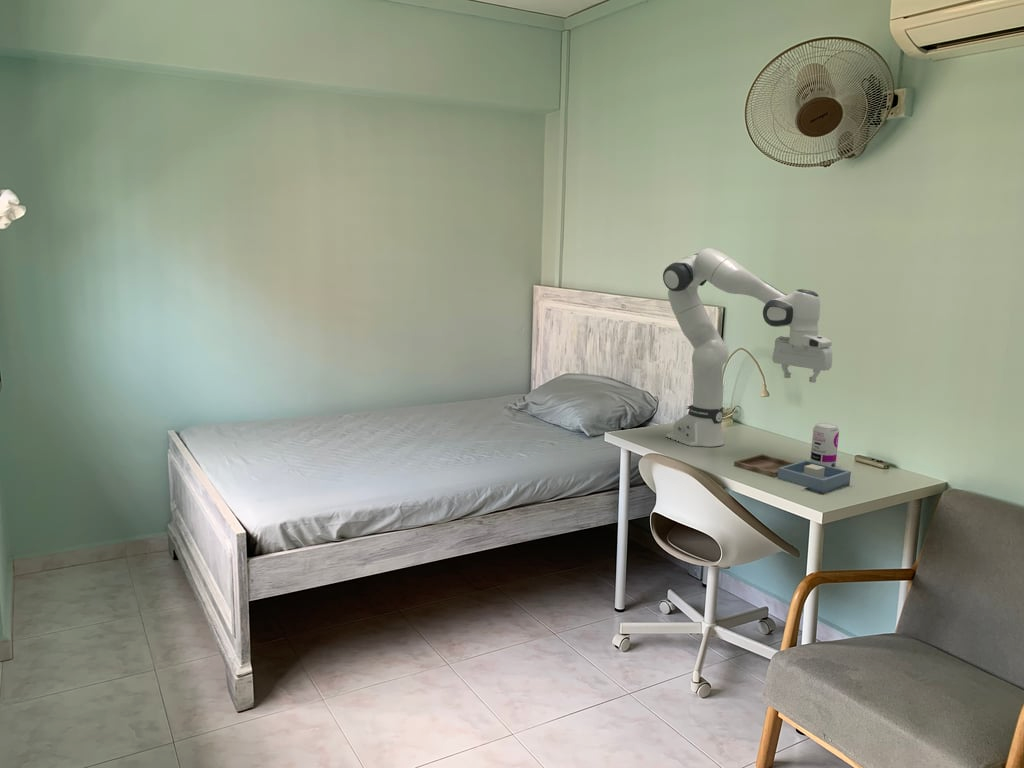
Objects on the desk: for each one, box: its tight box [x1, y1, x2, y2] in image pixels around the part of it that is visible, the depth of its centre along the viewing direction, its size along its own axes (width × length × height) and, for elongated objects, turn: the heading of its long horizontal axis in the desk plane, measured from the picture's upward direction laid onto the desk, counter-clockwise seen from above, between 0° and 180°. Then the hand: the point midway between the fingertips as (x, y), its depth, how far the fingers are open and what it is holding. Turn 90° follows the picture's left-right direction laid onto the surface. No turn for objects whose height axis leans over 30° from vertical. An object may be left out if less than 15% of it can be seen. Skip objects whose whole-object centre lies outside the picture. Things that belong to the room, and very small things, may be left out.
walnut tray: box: [733, 454, 795, 479], centre depth 270 cm, size 16×16×2 cm
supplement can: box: [809, 422, 840, 468], centre depth 273 cm, size 8×8×15 cm
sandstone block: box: [804, 464, 825, 479], centre depth 257 cm, size 4×4×4 cm
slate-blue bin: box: [776, 459, 852, 495], centre depth 257 cm, size 16×16×4 cm
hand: (799, 380), depth 266 cm, fingers open, 8 cm apart
